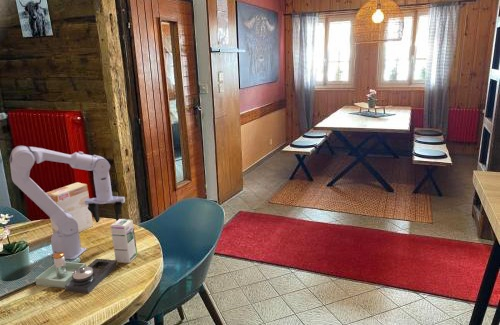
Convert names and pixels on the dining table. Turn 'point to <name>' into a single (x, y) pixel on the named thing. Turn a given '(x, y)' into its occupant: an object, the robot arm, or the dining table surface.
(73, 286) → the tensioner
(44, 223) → the dining table surface
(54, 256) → the glass vial
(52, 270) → the tray
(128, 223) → the syrup box
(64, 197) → the coffeecake box
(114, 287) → the dining table surface
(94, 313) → the dining table surface
